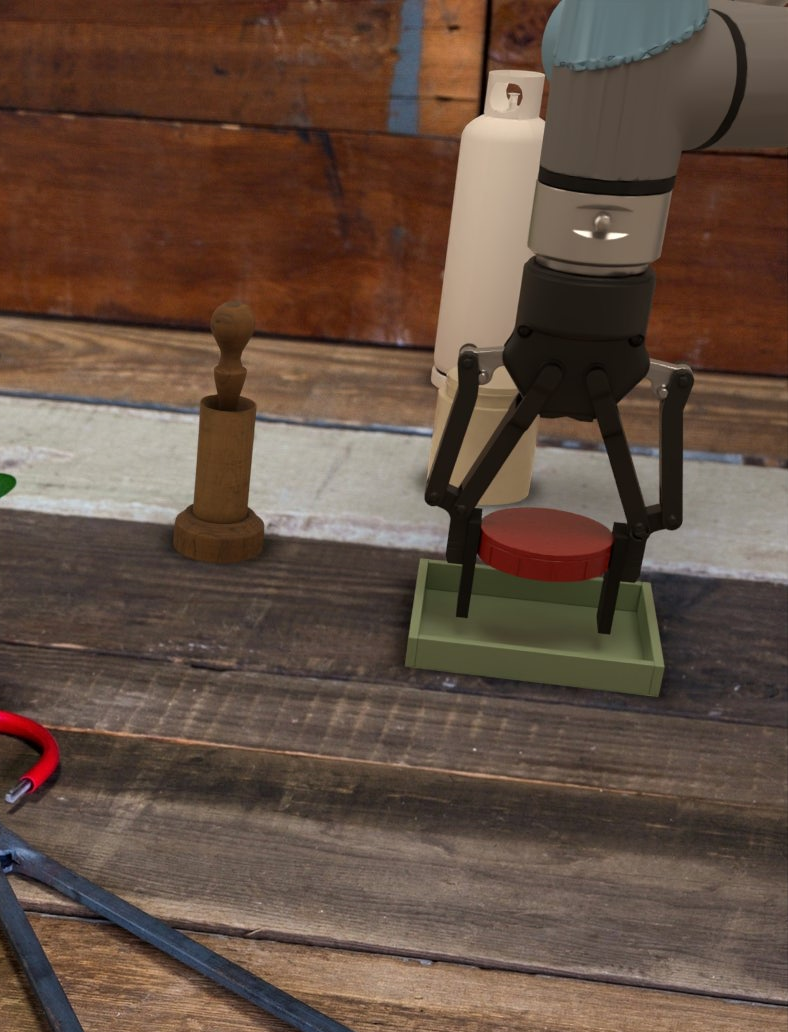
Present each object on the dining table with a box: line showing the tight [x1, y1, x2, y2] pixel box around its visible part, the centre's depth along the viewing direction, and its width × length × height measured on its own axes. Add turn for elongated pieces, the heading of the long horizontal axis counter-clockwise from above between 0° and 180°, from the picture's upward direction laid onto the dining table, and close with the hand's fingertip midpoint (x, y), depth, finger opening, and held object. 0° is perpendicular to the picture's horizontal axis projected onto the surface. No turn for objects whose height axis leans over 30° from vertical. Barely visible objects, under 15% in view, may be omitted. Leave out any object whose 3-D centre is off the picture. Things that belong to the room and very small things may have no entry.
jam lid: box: [477, 506, 614, 582], centre depth 106 cm, size 8×8×2 cm
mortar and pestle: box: [172, 301, 265, 564], centre depth 118 cm, size 7×6×18 cm
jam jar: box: [425, 366, 541, 506], centre depth 132 cm, size 8×8×10 cm
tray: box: [404, 557, 666, 698], centre depth 109 cm, size 15×13×2 cm
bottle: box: [430, 69, 546, 389], centre depth 152 cm, size 8×8×28 cm
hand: (532, 617), depth 108 cm, fingers closed on jam lid, 8 cm apart
